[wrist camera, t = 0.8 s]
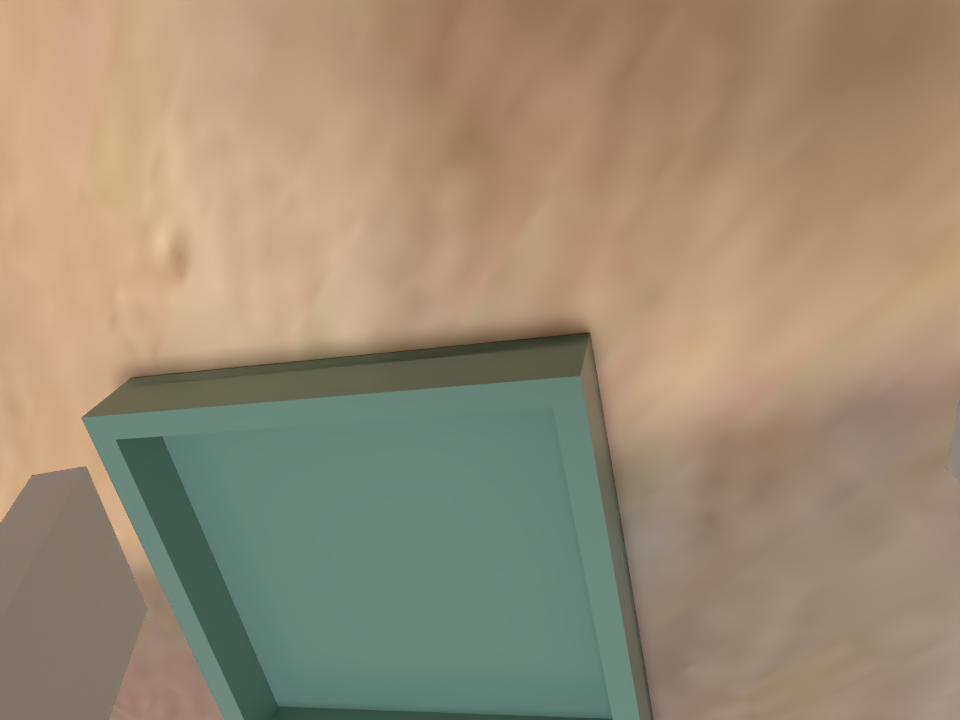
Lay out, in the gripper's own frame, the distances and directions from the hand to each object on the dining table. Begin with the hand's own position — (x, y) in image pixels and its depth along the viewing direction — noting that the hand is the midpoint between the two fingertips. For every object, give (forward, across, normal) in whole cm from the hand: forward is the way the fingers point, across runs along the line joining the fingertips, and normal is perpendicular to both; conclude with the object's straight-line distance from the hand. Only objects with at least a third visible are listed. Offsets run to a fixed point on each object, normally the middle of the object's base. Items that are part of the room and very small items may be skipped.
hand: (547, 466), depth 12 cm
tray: (+16, -4, -14) cm, 22 cm away
